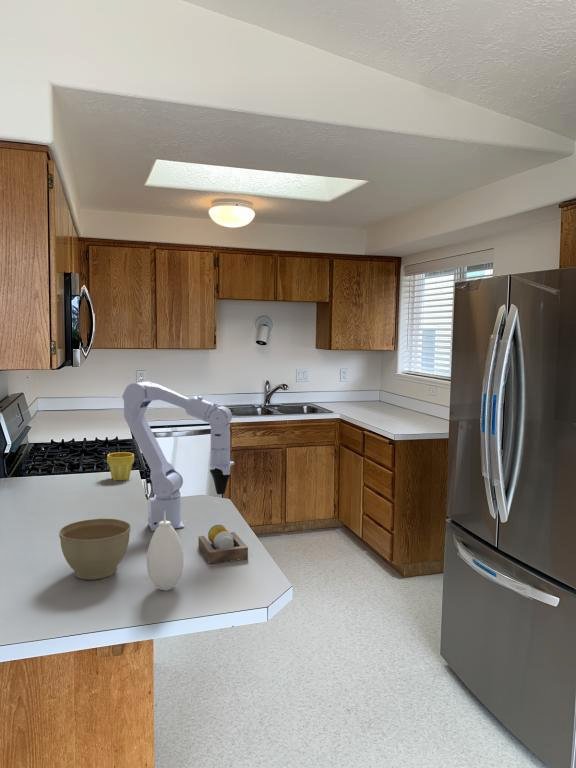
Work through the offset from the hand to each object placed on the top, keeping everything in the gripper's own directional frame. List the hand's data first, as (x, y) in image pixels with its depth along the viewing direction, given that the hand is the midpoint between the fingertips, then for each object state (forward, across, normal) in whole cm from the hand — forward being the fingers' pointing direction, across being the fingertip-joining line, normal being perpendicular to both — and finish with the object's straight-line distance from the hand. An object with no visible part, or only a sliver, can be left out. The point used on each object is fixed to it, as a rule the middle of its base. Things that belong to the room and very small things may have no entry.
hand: (220, 493), depth 171 cm
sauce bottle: (+11, -36, +22) cm, 44 cm away
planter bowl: (+11, -21, +36) cm, 43 cm away
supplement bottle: (+8, -11, +4) cm, 14 cm away
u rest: (+10, -19, +4) cm, 22 cm away
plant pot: (+11, +72, +22) cm, 76 cm away
